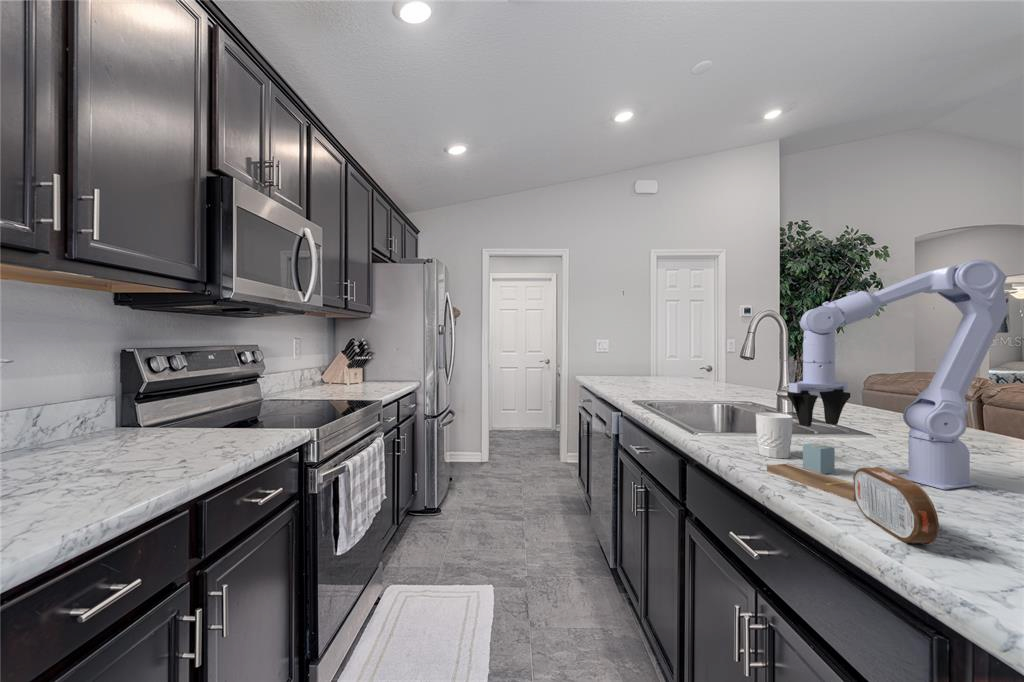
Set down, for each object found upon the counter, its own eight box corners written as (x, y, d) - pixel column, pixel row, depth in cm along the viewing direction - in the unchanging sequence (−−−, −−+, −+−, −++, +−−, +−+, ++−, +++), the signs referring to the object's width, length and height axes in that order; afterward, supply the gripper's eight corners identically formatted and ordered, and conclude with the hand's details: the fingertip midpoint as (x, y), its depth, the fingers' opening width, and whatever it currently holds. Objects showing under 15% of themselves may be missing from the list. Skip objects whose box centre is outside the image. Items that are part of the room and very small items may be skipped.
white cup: (763, 458, 103) (763, 417, 103) (750, 450, 111) (750, 411, 111) (799, 460, 101) (799, 418, 101) (783, 451, 109) (783, 412, 109)
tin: (941, 556, 56) (941, 492, 56) (913, 553, 57) (913, 490, 57) (870, 511, 71) (870, 460, 71) (848, 509, 72) (849, 459, 72)
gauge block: (816, 467, 95) (816, 443, 95) (834, 473, 92) (834, 447, 92) (802, 469, 94) (802, 444, 94) (820, 474, 90) (820, 448, 91)
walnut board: (788, 468, 94) (788, 463, 94) (878, 497, 77) (878, 490, 77) (766, 471, 93) (766, 465, 93) (853, 500, 75) (853, 493, 75)
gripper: (825, 361, 99) (825, 420, 99) (776, 362, 95) (776, 423, 95) (857, 363, 92) (857, 425, 92) (806, 363, 88) (806, 429, 88)
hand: (818, 424), depth 93 cm, fingers open, 7 cm apart
